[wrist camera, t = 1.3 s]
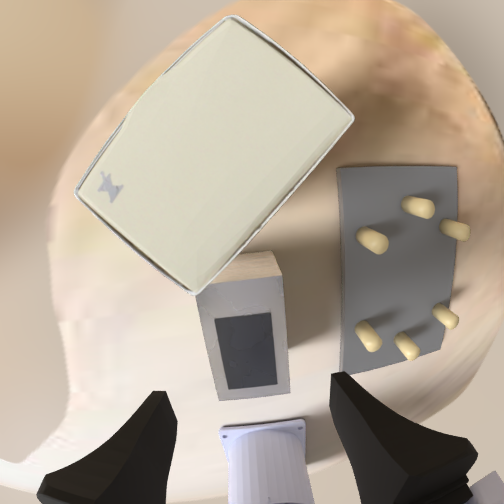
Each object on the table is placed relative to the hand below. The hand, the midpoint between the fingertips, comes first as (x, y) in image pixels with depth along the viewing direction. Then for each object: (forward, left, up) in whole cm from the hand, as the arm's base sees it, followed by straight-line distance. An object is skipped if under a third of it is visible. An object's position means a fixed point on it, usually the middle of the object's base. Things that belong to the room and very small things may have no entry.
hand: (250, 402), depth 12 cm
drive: (0, 0, -10) cm, 10 cm away
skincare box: (+10, 0, -10) cm, 14 cm away
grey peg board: (+1, -12, -9) cm, 15 cm away
